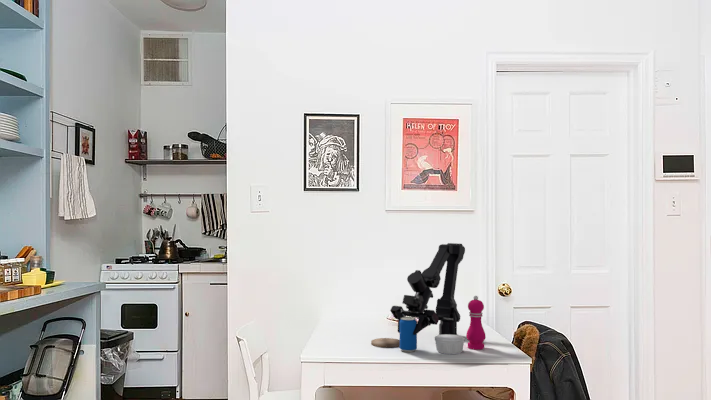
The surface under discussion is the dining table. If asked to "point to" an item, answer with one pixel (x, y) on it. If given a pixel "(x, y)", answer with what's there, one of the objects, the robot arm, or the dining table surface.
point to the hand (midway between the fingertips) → (406, 333)
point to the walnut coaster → (386, 342)
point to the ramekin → (449, 344)
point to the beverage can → (408, 334)
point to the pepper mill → (475, 325)
